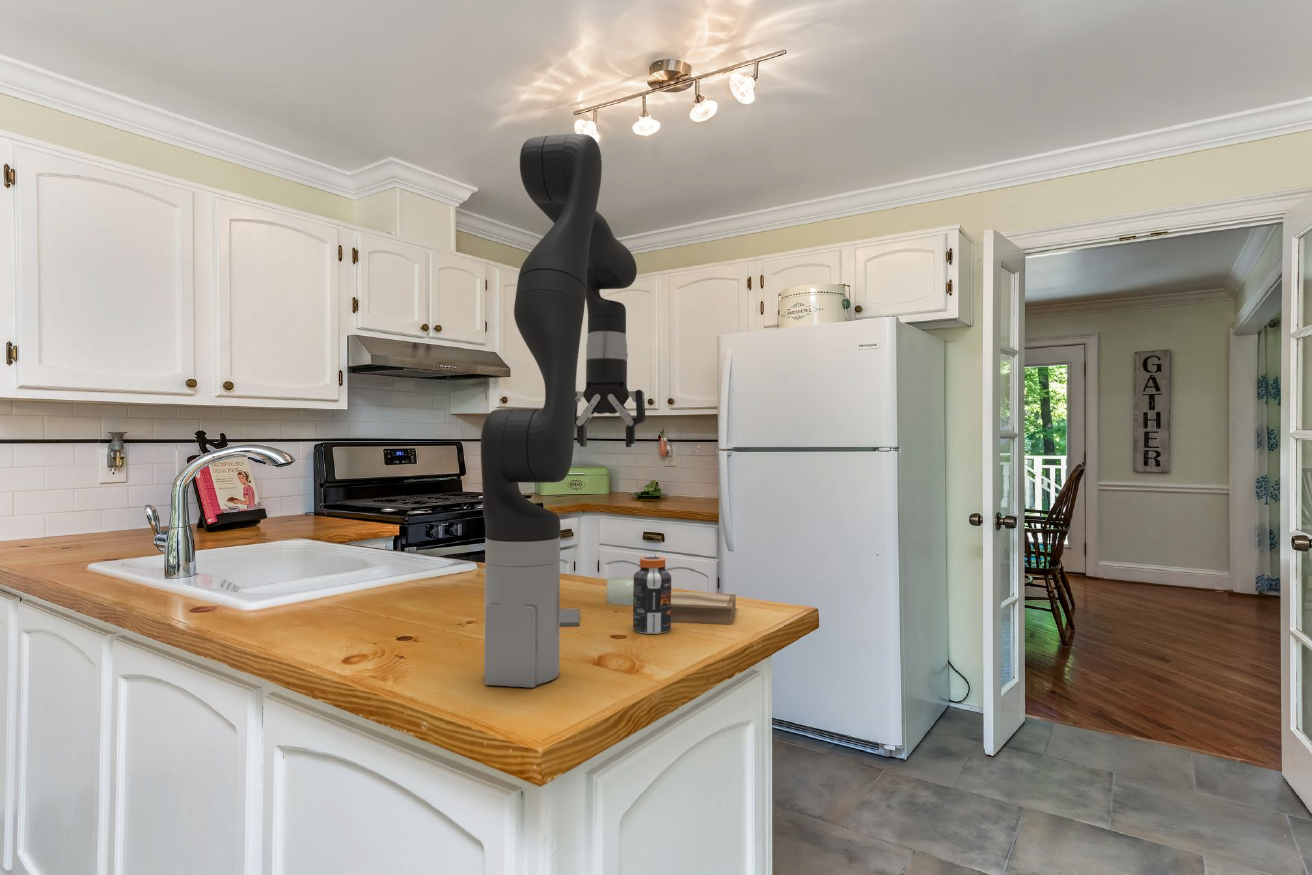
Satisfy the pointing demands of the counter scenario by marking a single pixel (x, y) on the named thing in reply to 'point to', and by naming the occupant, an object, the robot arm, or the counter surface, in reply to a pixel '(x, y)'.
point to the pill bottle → (652, 597)
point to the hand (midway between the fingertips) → (605, 446)
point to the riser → (702, 607)
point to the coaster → (569, 617)
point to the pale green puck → (620, 591)
